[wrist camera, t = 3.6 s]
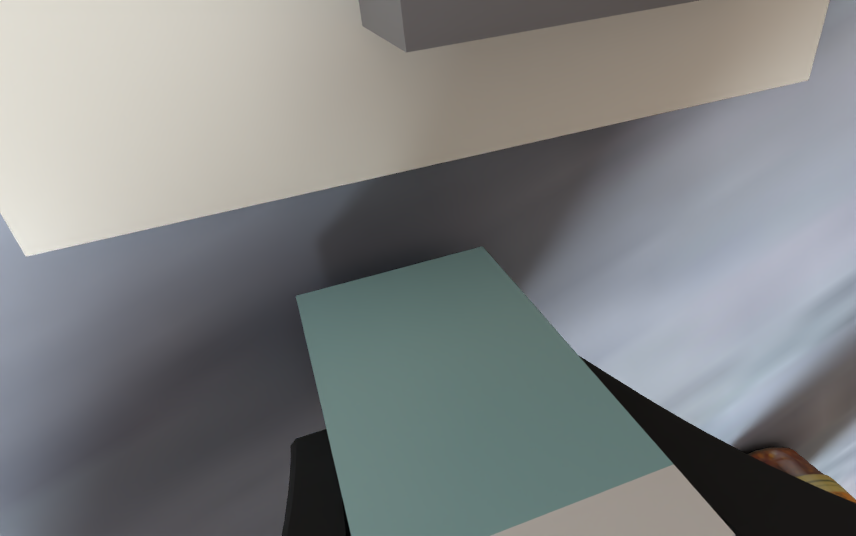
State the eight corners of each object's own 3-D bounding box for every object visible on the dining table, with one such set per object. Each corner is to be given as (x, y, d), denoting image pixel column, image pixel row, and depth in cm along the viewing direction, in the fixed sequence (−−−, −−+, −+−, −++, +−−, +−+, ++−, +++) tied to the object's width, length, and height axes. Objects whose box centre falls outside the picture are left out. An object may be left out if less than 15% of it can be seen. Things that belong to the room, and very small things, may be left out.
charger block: (489, 382, 14) (682, 689, 8) (334, 432, 13) (428, 815, 7) (482, 246, 12) (735, 534, 6) (295, 295, 11) (386, 686, 5)
